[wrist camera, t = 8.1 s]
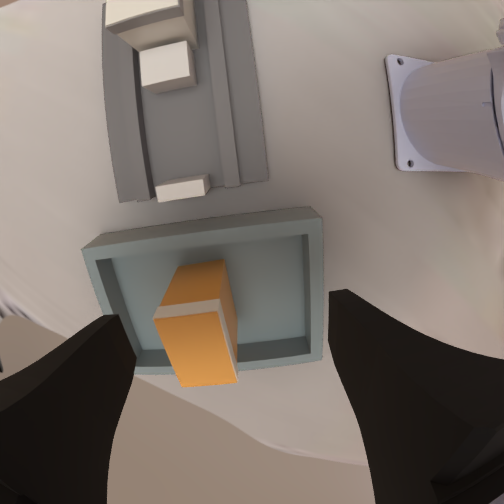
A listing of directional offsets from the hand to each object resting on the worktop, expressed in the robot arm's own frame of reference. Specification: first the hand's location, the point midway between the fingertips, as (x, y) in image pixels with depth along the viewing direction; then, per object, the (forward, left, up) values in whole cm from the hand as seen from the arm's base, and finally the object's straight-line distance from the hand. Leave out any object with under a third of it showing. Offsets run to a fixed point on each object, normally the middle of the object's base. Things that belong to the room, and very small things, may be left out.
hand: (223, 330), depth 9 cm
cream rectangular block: (+2, -14, -9) cm, 17 cm away
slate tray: (+2, +4, -10) cm, 10 cm away
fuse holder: (+2, -10, -10) cm, 14 cm away
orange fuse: (+2, +3, -9) cm, 10 cm away
